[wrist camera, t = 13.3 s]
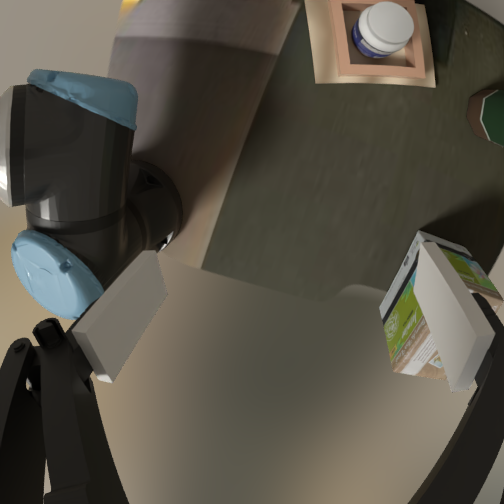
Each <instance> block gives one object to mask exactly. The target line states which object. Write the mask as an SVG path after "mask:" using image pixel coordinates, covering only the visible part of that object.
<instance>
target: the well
mask: <svg viewBox="0 0 504 504" xmlns="http://www.w3.org/2000/svg"><path fill="white" fill-rule="evenodd" d="M384 1H389V2H393V3H396V4H398V5H400V6H402V7H403V8H404V9H406V10H407V11H408V13H409V14H410V16H411V17H412V19H413V23H414V31H413V34H412V36H411V37H410V38H409V41H408V43H407V44H406V45H405V46H404V50H405V58H406V67H401V66H386V65H359V64H350V59H349V51H348V43H347V36H346V29H345V22H344V16H343V11H364V10H365V9H366V8H368V7H370V6H372V5H375V4H377V3H379V2H384ZM328 9H329V15H330V21H331V27H332V34H333V41H334V49H335V57H336V65H337V74H338V77H386V78H403V79H415V80H417V79H424V78H426V77H425V66H424V57H423V49H422V42H421V35H420V29H419V23H418V17H417V12H416V7H415V2H414V0H328Z"/></svg>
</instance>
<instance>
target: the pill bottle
mask: <svg viewBox="0 0 504 504" xmlns="http://www.w3.org/2000/svg"><path fill="white" fill-rule="evenodd" d="M413 31H414V23H413V19H412V17H411V16H410V14H409V13H408V11H407V10H406V9H404V8H403V7H402V6H400V5H398V4H396V3H393V2H389V1H384V2H379V3H377V4H375V5H372V6H370V7H368V8H366V9H365V10H364V11H363V12H362V13H361V15H360V16H359V18H358V19H357V21H356V23H355V24H354V26H353V28H352V30H351V40H352V42H353V44H354V46H355V48H356V49H357V50H358V51H359V52H360V53H361V54H363V55H365V56H367V57H370V58H374V59H380V58H384V57H387V56H389V55H391V54H393V53H395V52H397V51H399V50H401V49H402V48H403V47H404V46H405V45H406V44H407V43H408V41H409V38H410V37H411V36H412V34H413Z"/></svg>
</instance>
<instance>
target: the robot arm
mask: <svg viewBox="0 0 504 504" xmlns="http://www.w3.org/2000/svg"><path fill="white" fill-rule="evenodd" d="M27 82H29V84H26V85H15V86H10V87H9V88H8V89H7V90H6V91H5V92H4V93H3V94H2V96H1V97H0V200H1V201H3V202H4V203H5V204H6V205H7V206H9V207H13V206H19V205H26V217H27V230H23V231H22V232H20V233H19V234H18V236H17V238H16V239H15V242H14V243H13V244H12V248H11V255H12V261H13V265H14V268H15V271H16V273H17V275H18V277H19V279H20V281H21V282H22V284H23V286H24V287H25V289H26V290H27V291H28V292H29V294H30V295H31V296H32V297H33V298H34V299H35V300H36V301H37V302H38V303H39V304H40V305H41V306H43V307H44V308H45V309H47V310H48V311H50V312H51V313H53V314H55V315H57V316H60V317H62V318H65V319H71V320H76V321H75V322H74V323H73V324H72V325H71V327H70V328H69V329H68V330H67V331H66V333H65V332H64V330H63V329H62V327H61V325H60V323H59V321H58V319H56V318H48V319H45V320H43V321H41V322H40V323H39V324H37V325H36V327H35V328H34V329H33V332H32V333H33V334H34V336H35V338H36V340H37V342H38V343H39V345H40V346H33V345H32V343H31V342H30V340H29V339H28V338H20V339H17V340H16V341H14V342H13V343H12V344H11V345H10V348H9V349H8V351H7V353H6V356H5V358H4V361H3V363H2V366H1V368H0V504H43V494H44V475H45V463H46V459H47V466H48V472H49V478H50V484H51V492H49V493H46V494H45V495H44V504H129V502H128V499H127V497H126V494H125V492H124V490H123V486H122V484H121V481H120V478H119V475H118V473H117V470H116V467H115V464H114V461H113V458H112V455H111V451H110V448H109V445H108V441H107V438H106V434H105V431H104V427H103V424H102V420H101V416H100V412H99V408H98V404H97V399H96V395H95V391H94V386H93V382H92V380H91V378H90V374H91V373H92V371H94V373H95V374H96V376H97V378H98V379H99V380H101V381H105V382H110V383H113V382H114V380H115V379H116V377H117V375H118V374H119V372H120V370H121V368H122V367H123V365H124V364H125V362H126V360H127V359H128V357H129V355H130V354H131V352H132V351H133V349H134V347H135V346H136V344H137V342H138V341H139V339H140V338H141V336H142V334H143V333H144V331H145V329H146V328H147V326H148V325H149V323H150V322H151V320H152V318H153V317H154V315H155V314H156V312H157V311H158V309H159V308H160V306H161V304H162V303H163V301H164V300H165V298H166V297H167V295H168V293H167V290H166V286H165V283H164V279H163V276H162V273H161V269H160V265H159V261H158V258H157V254H156V253H158V252H160V251H162V250H163V249H164V248H166V247H167V246H168V245H169V244H170V242H171V241H172V240H173V239H174V238H175V236H176V235H177V233H178V231H179V229H180V226H181V222H182V204H181V199H180V196H179V194H178V191H177V189H176V187H175V185H174V184H173V182H172V181H171V180H170V178H169V177H168V176H167V175H166V174H165V173H164V172H163V171H161V170H160V169H159V168H157V167H156V166H154V165H152V164H149V163H146V162H143V161H131V154H132V146H133V139H134V133H135V130H136V129H137V126H136V124H135V122H136V112H137V103H138V94H137V91H136V89H135V88H134V86H133V85H132V84H130V83H128V82H125V81H121V80H116V79H111V78H106V77H100V76H94V75H87V74H80V73H72V72H62V71H61V72H60V71H52V70H42V69H35V70H33V71H32V72H31V73H30V75H29V77H28V78H27ZM413 292H414V294H415V296H416V299H417V301H418V303H419V305H420V308H421V310H422V313H423V315H424V317H425V320H426V322H427V325H428V327H429V330H430V332H431V335H432V337H433V340H434V342H435V345H436V348H437V350H438V353H439V356H440V359H441V361H442V364H443V367H444V370H445V373H446V376H447V379H448V382H449V385H450V388H451V391H452V392H457V391H463V390H468V389H469V388H470V386H471V385H472V383H473V380H474V379H475V381H476V383H477V386H478V387H477V389H476V391H475V393H474V394H473V396H472V398H471V400H470V401H469V403H468V407H467V409H466V411H465V413H464V415H463V417H462V419H461V421H460V423H459V425H458V427H457V429H456V431H455V432H454V434H453V436H452V438H451V439H450V441H449V443H448V445H447V446H446V448H445V450H444V451H443V453H442V455H441V456H440V458H439V459H438V461H437V463H436V464H435V466H434V467H433V469H432V470H431V472H430V473H429V475H428V476H427V478H426V479H425V481H424V482H423V483H422V485H421V486H420V488H419V489H418V490H417V492H416V493H415V494H414V496H413V497H412V498H411V500H410V501H409V503H408V504H473V503H474V501H475V499H476V497H477V495H478V494H479V492H480V490H481V488H482V486H483V484H484V482H485V480H486V478H487V476H488V474H489V472H490V470H491V468H492V466H493V464H494V462H495V459H496V457H497V455H498V452H499V450H500V448H501V445H502V443H503V440H504V326H503V324H502V323H501V321H500V320H499V318H498V316H497V315H496V313H495V312H494V310H493V309H492V307H491V305H490V304H489V302H488V301H487V299H485V298H484V297H483V296H482V295H480V294H479V293H478V292H477V293H470V291H469V290H468V288H467V287H466V285H465V284H464V282H463V281H462V279H461V278H460V276H459V275H458V273H457V272H456V271H455V269H454V268H453V266H452V265H451V263H450V262H449V261H448V259H447V258H446V256H445V255H444V254H443V252H442V251H441V250H440V248H439V247H438V246H437V244H436V243H435V242H421V243H420V251H419V258H418V265H417V272H416V278H415V284H414V290H413ZM26 381H27V383H28V384H29V385H30V387H29V390H27V388H26ZM500 504H504V489H503V494H502V498H501V502H500Z"/></svg>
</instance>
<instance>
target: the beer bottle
mask: <svg viewBox="0 0 504 504" xmlns="http://www.w3.org/2000/svg"><path fill="white" fill-rule="evenodd" d="M466 117H467V119H468V121H469V123H470V125H471V127H472V129H473V132H474V134H475V135H476V136H479V137H481V138H483V139H485V140H488V141H490V142H492V143H494V144H497V145H499V146H502V147H504V90H491V89H487V90H482V91H480V92H478V93H477V94H475V95H473V96H472V97H470V98H469V104H468V110H467V116H466Z"/></svg>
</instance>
